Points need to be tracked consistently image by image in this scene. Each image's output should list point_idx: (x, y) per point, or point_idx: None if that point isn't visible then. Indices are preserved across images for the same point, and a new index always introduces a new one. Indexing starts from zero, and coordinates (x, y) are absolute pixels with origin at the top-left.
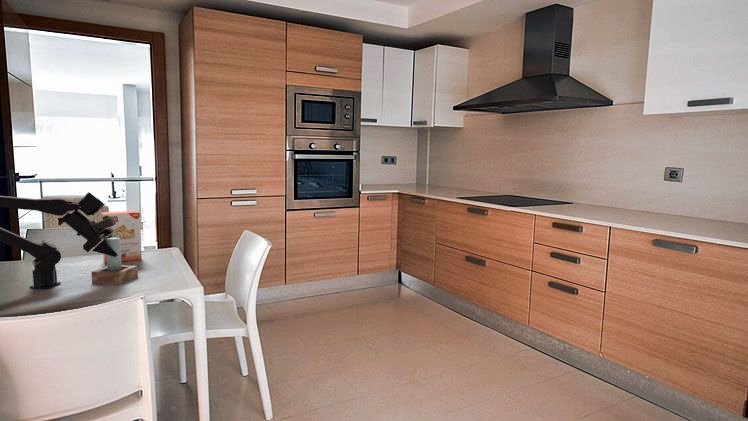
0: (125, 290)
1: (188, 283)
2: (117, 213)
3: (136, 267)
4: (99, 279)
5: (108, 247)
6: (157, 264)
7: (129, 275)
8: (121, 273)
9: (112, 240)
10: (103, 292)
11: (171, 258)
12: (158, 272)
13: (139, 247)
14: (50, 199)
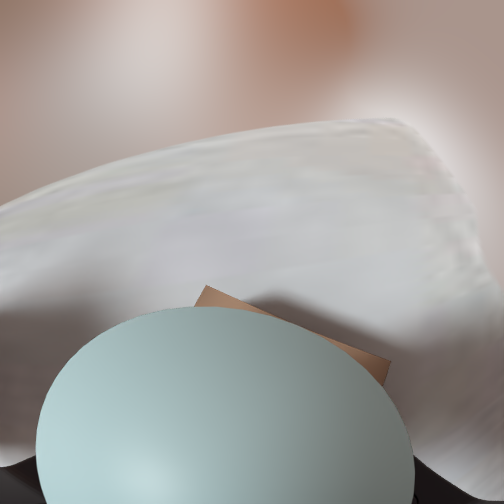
0: (455, 310)
1: (365, 129)
2: None
3: (216, 292)
4: None
5: (424, 476)
6: (43, 250)
7: None
8: (364, 353)
9: (406, 471)
10: (470, 391)
11: (5, 218)
12: (172, 225)
13: None
14: None
